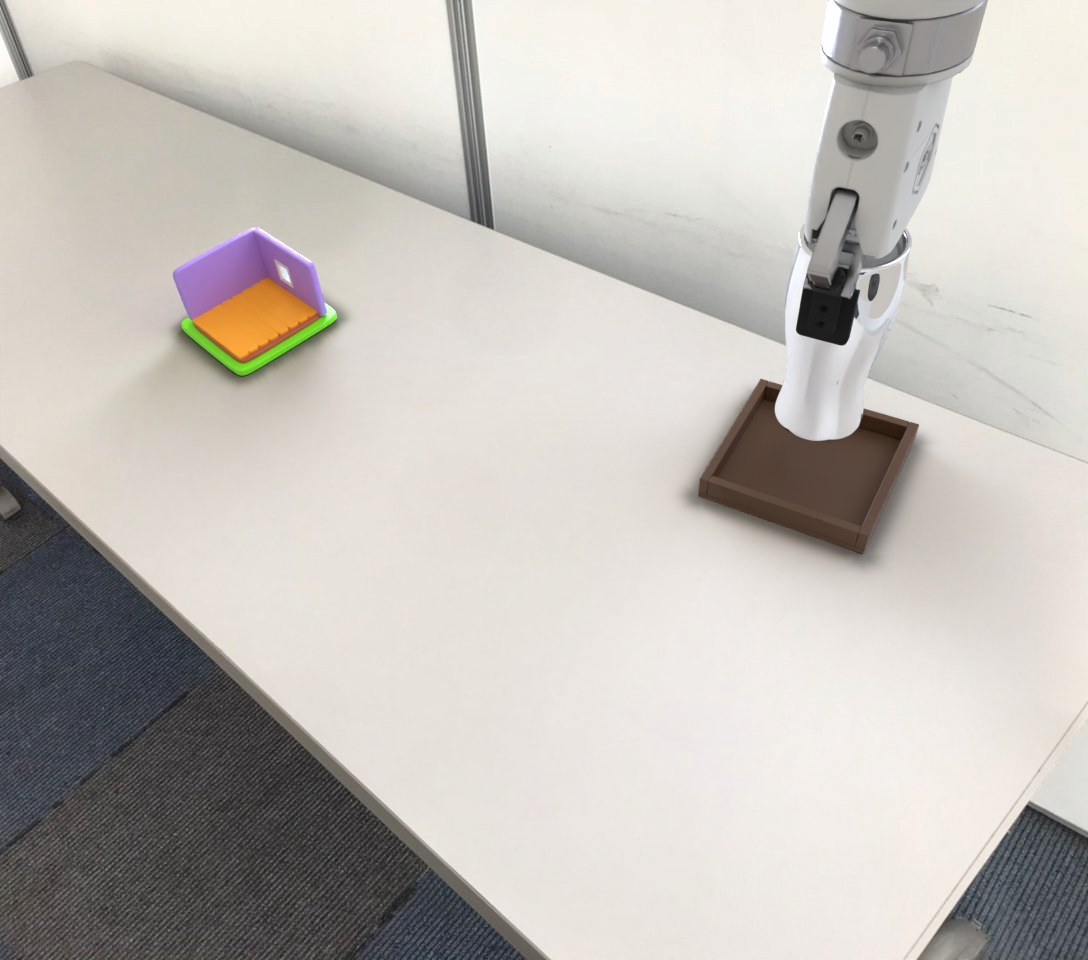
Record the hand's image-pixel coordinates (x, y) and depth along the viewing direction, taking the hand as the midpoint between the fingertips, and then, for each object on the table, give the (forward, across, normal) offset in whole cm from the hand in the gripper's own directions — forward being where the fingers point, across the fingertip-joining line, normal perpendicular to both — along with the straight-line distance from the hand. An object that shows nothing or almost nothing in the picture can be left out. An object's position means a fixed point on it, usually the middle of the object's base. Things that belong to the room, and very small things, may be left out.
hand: (842, 301), depth 63 cm
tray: (+16, 0, 0) cm, 16 cm away
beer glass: (+10, 0, 0) cm, 10 cm away
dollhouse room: (+16, -4, +53) cm, 56 cm away
